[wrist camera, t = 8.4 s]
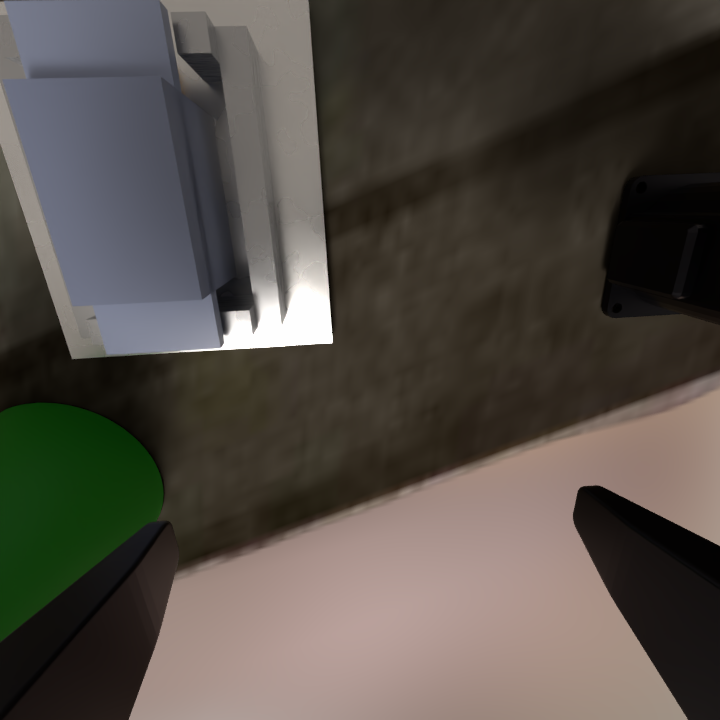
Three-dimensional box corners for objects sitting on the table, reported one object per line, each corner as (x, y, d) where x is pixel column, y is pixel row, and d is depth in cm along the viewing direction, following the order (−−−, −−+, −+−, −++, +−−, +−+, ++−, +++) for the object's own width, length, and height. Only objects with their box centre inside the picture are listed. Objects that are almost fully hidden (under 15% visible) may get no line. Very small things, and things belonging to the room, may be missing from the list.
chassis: (309, 10, 15) (302, -57, 11) (332, 336, 20) (332, 366, 16) (-22, 16, 14) (-148, -54, 10) (84, 351, 19) (24, 386, 15)
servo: (203, 54, 14) (142, -21, 10) (243, 319, 18) (212, 358, 13) (90, 56, 14) (-30, -20, 9) (153, 324, 18) (90, 365, 13)
